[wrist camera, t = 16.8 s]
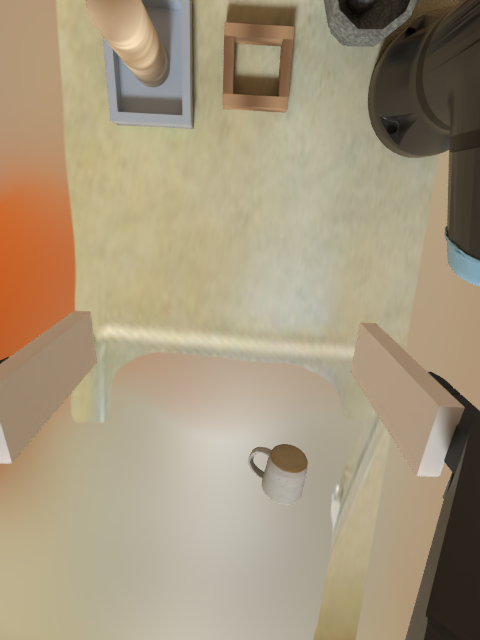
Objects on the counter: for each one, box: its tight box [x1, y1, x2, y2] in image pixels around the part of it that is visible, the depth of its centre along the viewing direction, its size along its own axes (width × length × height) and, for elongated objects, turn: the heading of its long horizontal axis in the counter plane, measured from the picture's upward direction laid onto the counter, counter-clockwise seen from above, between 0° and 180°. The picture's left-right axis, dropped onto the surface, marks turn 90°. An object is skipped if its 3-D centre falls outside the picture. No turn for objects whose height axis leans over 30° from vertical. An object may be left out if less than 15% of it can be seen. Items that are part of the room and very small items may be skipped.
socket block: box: [223, 22, 295, 112], centre depth 39 cm, size 8×8×2 cm
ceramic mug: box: [248, 444, 307, 505], centre depth 60 cm, size 11×8×8 cm
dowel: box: [86, 0, 170, 87], centre depth 33 cm, size 5×5×13 cm
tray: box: [103, 0, 193, 129], centre depth 39 cm, size 10×13×2 cm
